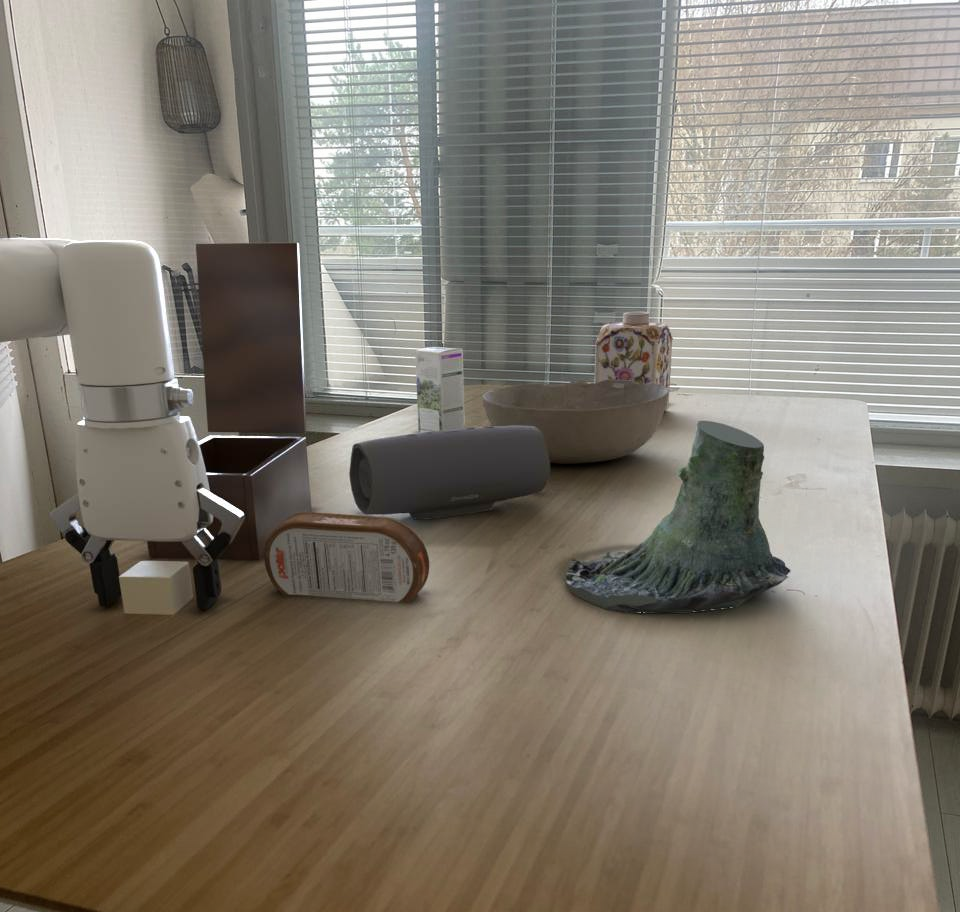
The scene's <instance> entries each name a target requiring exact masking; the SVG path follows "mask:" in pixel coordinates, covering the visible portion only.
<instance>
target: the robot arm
mask: <svg viewBox="0 0 960 912" xmlns="http://www.w3.org/2000/svg"><path fill="white" fill-rule="evenodd" d="M161 267H162V266H161V262H160V257H159V255H158V253H157V251H156V250H155V249H154V248H153V246H151V245H150V244H149V243H146V242H143V241H138V240H84V241H83V240H81V241H78V240H71V239H65V238H30V237H0V343H6V342H14V341H22V340H29V339H30V340H31V339H36V338H54V337H60V336H61V337H62V336H69V341H70V347H71V353H72V358H73V364H74V370H75V376H76V382H77V388H78V394H79V399H80V406H81V411H82V412H81V413H82V417H83V419H82V420H80V421H78V422H77V426H76V438H75V439H76V441H75V442H76V443H75V469H76V482H77V493H75V494H74V495H72V496H71V497H70V498H68V499H67V500H66V501H64V502H63V503H61V504H60V505H59V506H57V507H56V508H54V509H53V510H52V511H50V513H49V518H50V520H51V521H52V523H53V524H54V525H55V526H56V528H57V529H58V530H59V531H60V532H61V534H63V535H64V539H65V541H66V543H68V544H69V545H70V546H71V547H72V548H74V549H75V550H76V551H77V552H78V553H79V554H81V555H80V557H81V560H82V561H83V562H84V563H86V564H89V570H90V576H91V581H92V587H93V591H94V594H95V595H97V600H98V605H99V607H103V608H106V607H109V606H110V605H112V604H113V603H114V602H115V601H117V600H118V599H120V598H122V594H121V587H120V581H119V576H120V575H121V574H120V569H119V562H118V557H117V556H116V553H111V550H110V549H111V548H112V546H113V544H114V542H115V541H122V542H123V541H125V542H129V541H130V542H147V541H181V542H182V543H183V544H184V545H185V547H186V548H187V549H188V550H189V551H190V553H191V554H192V555H193V556H194V557H195V559H194V560H196V564H195V565H194V566H193V567H192V575H193V583H194V589H195V590H194V591H195V597H196V606H197V608H198V609H199V610H201V611H202V610H205V611H207V610H208V609H209V608H210V607H211V606H213V604H215V602H217V600H218V598H219V597H220V595H221V593H222V583H221V574H220V568H219V567H220V566H219V559H218V557H219V556H220V555H221V554H222V553H223V552H224V550H225V549H226V548H227V547H228V546H229V545H230V544H231V543H232V542H233V541H234V539H235V536H236V534H237V532H238V530H239V529H240V527H241V525H242V523H243V521H244V519H245V515H244V513H243V512H242V511H241V510H239V509H237V508H236V507H234V506H232V505H231V504H229V503H227V502H226V501H224V500H222V499H221V498H219V497H217V496H216V495H214V494H212V493H211V492H210V489H209V484H208V479H207V474H206V469H205V465H204V461H203V457H202V453H201V449H200V446H199V439H198V436H197V433H196V430H195V427H194V424H193V422H192V419H191V417H190V416H184V415H181V414H180V412H182V409H183V408H184V407H192V406H193V405H194V402H195V401H194V400H195V398H194V393H193V391H192V389H189V388H187V389H185V388H182V387H180V386H179V380H178V379H177V378H175V377H176V375H175V368H174V367H175V366H174V359H173V353H172V345H171V344H172V343H171V337H170V336H171V335H170V327H169V320H168V313H167V312H168V311H167V306H166V305H167V304H166V297H165V288H164V282H163V281H164V280H163V274H162V273H163V272H162V268H161ZM79 512H80V514H81V519H82V522H83V526H82V525H80V524H79V523H80V522H79V521H78V519H77V517H76V516H77V514H79ZM213 516H214V517H216V518H218V519H219V520H220V521H221V523H222V526H221V528H220V531H219V533H218V535H217V536H216V537H215V538H213V536H212V535H211V534H210V533H209V531H208V530H207V529H206V528H205V527H208V526H209V525H211V523H212V522H213Z"/></svg>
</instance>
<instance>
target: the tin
mask: <svg viewBox="0 0 960 912" xmlns="http://www.w3.org/2000/svg"><path fill="white" fill-rule="evenodd" d="M263 561H264V566H265V570H266V573H267V576H268V578H269V580H270V582H271V583H272V585H273V586H274V588H275V589H277V591H278V592H279V593H280V594H282V595H289V596H290V595H291V596H292V595H294V596H295V595H296V596H297V595H298V596H310V597H312V596H313V597H323V598H324V597H326V598H336V599H337V598H338V599H349V600H350V599H352V600H364V601H365V600H366V601H367V600H368V601H381V602H382V601H384V602H394V603H400V604H402V603H403V604H408V603H411V602H412V600H413V599H414V598H415V597H416V596H417V595H418V594H419V593H420V592H421V590H422V589H423V588H424V586H425V585H426V583H427V581H428V578H429V573H430V558H429V553H428V550H427V547H426V546H425V544H424V542H423V540H422V539H421V537H420V536H419V534H418V533H417V532H416V531H415V530H414V529H412V528H411V527H410V526H409V525H407V524H406V523H404V522H402V521H400V520H398V519H395V518H393V517H387V516H379V515H361V514H347V513H344V514H343V513H331V512H319V511H318V512H317V511H312V512H300V513H296V514H293V515H291V516H289V517H288V518H286V519H285V520H284V521H282V522H281V524H280V525H279V526H278V527H277V528H276V529H275V530H274V531H273V532H272V533H271V535H270V536H269V538H268V540H267V542H266V544H265V548H264V557H263Z"/></svg>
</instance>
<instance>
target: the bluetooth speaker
mask: <svg viewBox="0 0 960 912" xmlns="http://www.w3.org/2000/svg"><path fill="white" fill-rule="evenodd" d="M348 474H349V475H348V476H349V482H350V483H349V484H350V488H351V494H352V497H353V500H354V502H355V505H356V507H357V509H358V510H359V511H360V512H362V514H364V515H366V516H382V515H398V514H409V515H410V517H411V516H412V517H413V518H412V517H411V518H412V519H415V518H416V519H415V520H426V519H425V518H432V519H438V518H437V517H442V518H446V517H445V516H449V517H456V516H462V515H463V516H464V515H471V514H476V512H478V513H483V512H487V511H486V510H488V511H491V510H493V507H494V503H497V502H502V501H503V502H504V501H508V500H512V499H517V498H521V497H522V498H523V497H527V496H530V495H534V494H538V493H540V492H542V491H544V490H545V488H546V487H547V485H548V483H549V480H550V476H551V463H550V461H549V455H548V450H547V446H546V442H545V439H544V436H543V434H542V432H541V431H540V430H539V429H538V428H536V427H534V426H494V427H492V426H491V425H490V426H481V427H480V426H479V427H478V426H477V427H467V428H466V427H465V428H464V429H446V430H440V431H432V432H424V433H419V432H417V433H409V434H404V435H403V434H401V435H394V436H387V437H380V438H379V437H378V438H375V439H369V440H365V441H361V442H356V443H354V444H353V445H352V447H351V454H350V464H349V473H348ZM490 509H491V510H490ZM482 511H483V512H482Z"/></svg>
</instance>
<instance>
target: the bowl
mask: <svg viewBox="0 0 960 912" xmlns="http://www.w3.org/2000/svg"><path fill="white" fill-rule="evenodd" d="M668 394H669V395H670V391H669V390H668V388H666V387H665V386H664V385H662V384H658V383H652V382H650V383H646V384H645V383H640V382H639V383H636V382H634V381H631V380H610V379H606V380H603V381H600V382H598V383H596V384H595V383H594V382H590V383H588V382H587V381H585V380H576V381H574V380H573V381H570V382H568V383H563V384H549V383H547V384H544V383H527V384H525V383H523V384H514V385H509V386H503V387H500V388H496V389H490V390H487V391H486V392H484V393H483V394H482V396H481V399H482V405H483V407H484V410H485V414H486V416H487V419H488V421H489V424H490V426H492V427H494V426H534V427H536V428H538V429H539V430H540V431H541V432H542V434H543V436H544V439H545V442H546V446H547V450H548V455H549V461H550V464H559V465H561V464H565V465H566V464H570V465H571V464H577V465H578V464H589V463H598V462H606V461H612V460H616V459H620V458H622V457H625V456H628V455H631V454H632V453H634V452H636V451H638V449H640V448H642V447H643V446H644V445H645V444H646V443H647V442H649V440H650V439H651V438H652V437H653V435H654V434H655V433H656V432H657V430H658V428H659V425H660V424H661V421H662V419H663V417H664V413H665V412H666V411H665V408H666V404H667V399H668Z"/></svg>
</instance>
